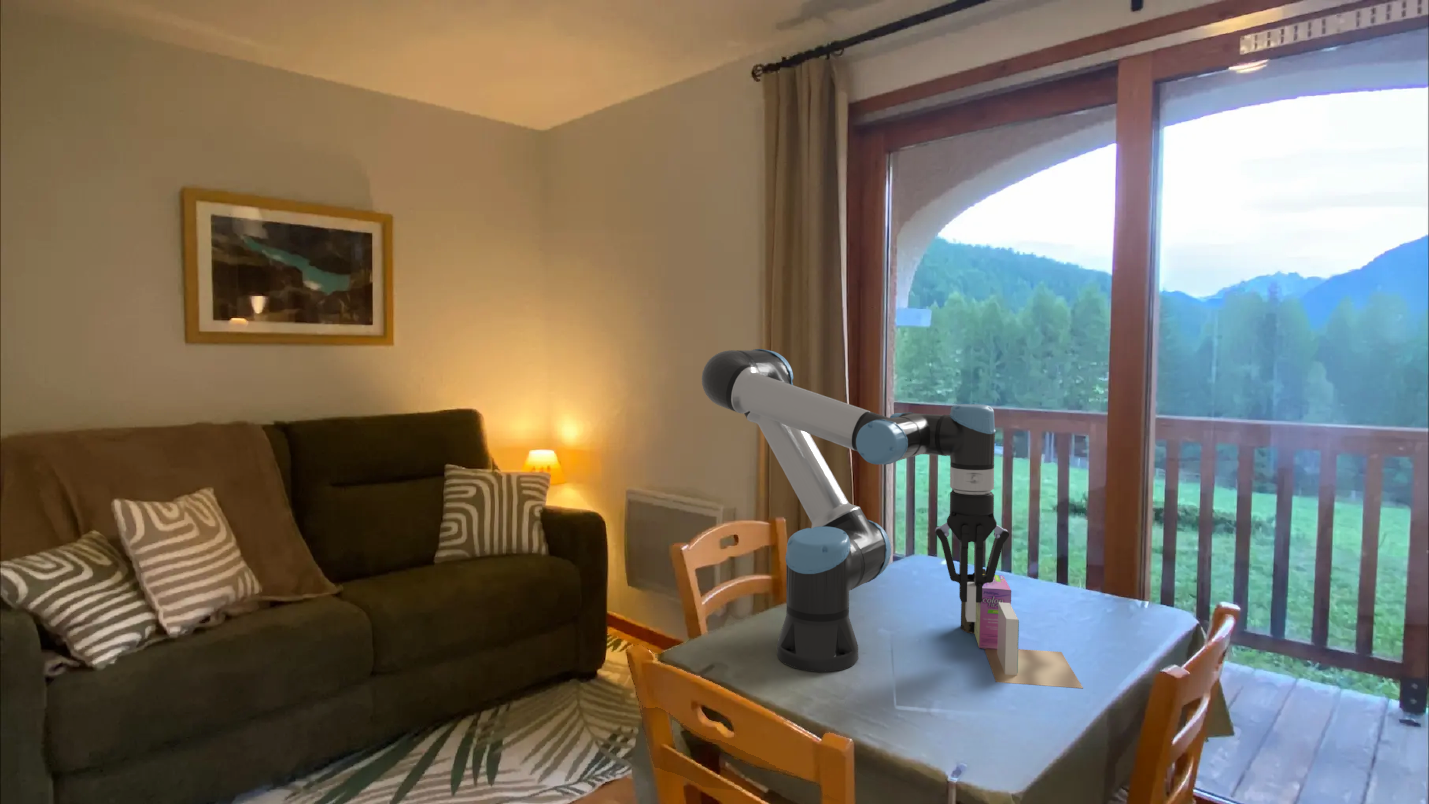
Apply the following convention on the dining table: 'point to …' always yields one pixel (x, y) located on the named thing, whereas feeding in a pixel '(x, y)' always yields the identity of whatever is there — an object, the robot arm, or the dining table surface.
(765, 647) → the dining table surface
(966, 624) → the mug
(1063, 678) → the mat
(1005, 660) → the tile
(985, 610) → the box
